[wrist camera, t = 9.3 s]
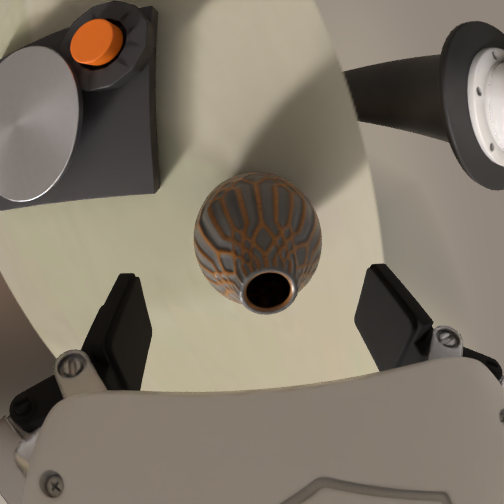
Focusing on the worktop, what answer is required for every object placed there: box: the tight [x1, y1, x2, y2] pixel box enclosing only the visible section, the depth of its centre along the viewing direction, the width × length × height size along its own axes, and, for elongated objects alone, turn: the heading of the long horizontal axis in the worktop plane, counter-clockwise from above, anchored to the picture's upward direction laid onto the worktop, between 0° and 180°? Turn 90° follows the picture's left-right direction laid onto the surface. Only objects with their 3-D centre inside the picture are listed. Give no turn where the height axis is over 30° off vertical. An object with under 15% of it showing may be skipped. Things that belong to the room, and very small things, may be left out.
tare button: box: [70, 19, 123, 66], centre depth 10 cm, size 3×3×2 cm
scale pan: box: [0, 46, 83, 202], centre depth 11 cm, size 10×10×1 cm
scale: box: [0, 1, 160, 211], centre depth 13 cm, size 14×12×3 cm
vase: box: [194, 172, 322, 315], centre depth 15 cm, size 7×7×9 cm
